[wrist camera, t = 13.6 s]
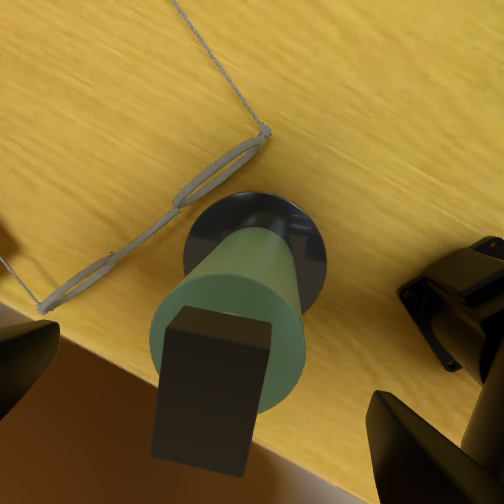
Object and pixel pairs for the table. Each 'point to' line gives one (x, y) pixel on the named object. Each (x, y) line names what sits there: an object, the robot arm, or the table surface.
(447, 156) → the table surface
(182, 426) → the pale green rounded piece
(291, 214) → the coaster
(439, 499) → the robot arm
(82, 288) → the eyeglasses
